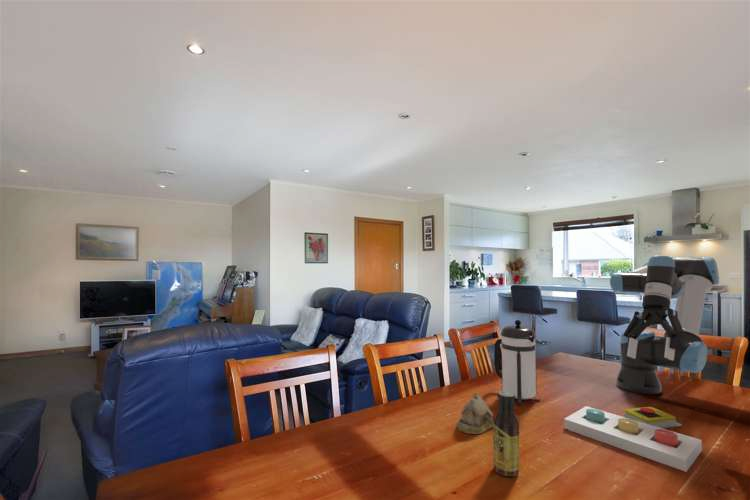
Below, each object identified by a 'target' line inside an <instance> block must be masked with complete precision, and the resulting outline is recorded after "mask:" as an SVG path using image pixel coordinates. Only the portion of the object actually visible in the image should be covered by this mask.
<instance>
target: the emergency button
mask: <svg viewBox="0 0 750 500" xmlns="http://www.w3.org/2000/svg"><path fill="white" fill-rule="evenodd" d="M623 417H625V418H629V419H632V420H635V421H639V422H642V423H646V424H649V425H652V426H656V427H659V428H662V429H667V428H674V427H681V426H683V424H682V423H679V422H677V419H676V416H675V415H672V414H669V413H668V412H664V411H662V410H660V409H658V408H656V407H652V406H644V407H636V408H635V407H634V408H633V407H632V408H625V409H624V414H623Z"/></svg>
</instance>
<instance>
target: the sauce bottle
mask: <svg viewBox="0 0 750 500" xmlns="http://www.w3.org/2000/svg"><path fill="white" fill-rule="evenodd" d="M497 399H498V410H497V413H496V415H495V417H494V420H493V421H494V423H493V427H492V428H493V429H492V430H493V435H492V436H493V441H492V442H493V443H492V447H493V451H492V452H493V454H492V456H493V457H492V458H493V460H492V461H493V468H494V471H495V472H496V473H498V474H499V475H500V476H503V477H510V478H511V477H516V476H518V474H519V473H520V471H519V468H520V421H519V417H518V416H517V414H516V413H515V401H516V398H515V394H514V393H513V392H510V391H503V390H502V391H500V390H499V392H497Z"/></svg>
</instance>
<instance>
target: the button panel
mask: <svg viewBox="0 0 750 500" xmlns="http://www.w3.org/2000/svg"><path fill="white" fill-rule="evenodd" d="M587 409H597V408H593V407H591V406H588V405H585V406H583V407H582V408H581V409H579V410H577V411H575V412H573V413H571V414H570V415H568V416H566V417H564V418H563V428H564V430H567V429H568V431H570V432H574V433H577V434H578V435H579V434H580V435H582V436H584V437H588V438H590V439H593V440H595V441H598V442H601V443H605V444H608V445H610V446H613V447H616V448H619V449H621V450H624V451H626V452H630V453H632V454H635V455H638V456H640V457H644V458H646V459H649V460H651V461H654V462H657V463H660V464H663V465H665V466H668V467H672V468H675V469H676V470H680V471H683V472H686V473H687V472H688V470H689V469H690V468H691V467H692V465H693V464H694V463H695V461H696V459H697V458H698V457H699V456H700V454H701V453H702V451H703V444H702V443H703V442H702V439H699V438H697V437H692V436H689V435H685V434H683V433H678V432H676V431H673V430H669V429H667V428H659V427H656V426H652V425H649V424H646V423H642V422H639V421H636V422H637V423H638V424H639V434H638V435H637V436H636V435H633V434H630V433H627V432H624V431H621V430H618V419H620V418H625V417H624V416H622V415H618V414H614V413H611V412H608V411H604V410H601V409H597V410H600V411H602V412H604V413H605V423H603V424H599V423H596V422H593V421H590V420H587V419H586V410H587ZM626 419H629V418H626ZM631 420H632V419H631ZM634 421H635V420H634ZM656 429H663V430H668V431H671V432H673V433H675V434H677V437H678V447H677V448H673V447H670V446H667V445H664V444H661V443H658V442H655V432H654V431H655V430H656Z"/></svg>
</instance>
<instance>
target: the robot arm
mask: <svg viewBox="0 0 750 500" xmlns="http://www.w3.org/2000/svg"><path fill="white" fill-rule="evenodd" d="M719 283H720V277H719V269H718V265H717V261H716V260H715V258H714V257H711V256H710V257H709V256H707V257H706V256H700V257H699V256H697V257H694V256H691V257H690V256H689V257H687V256H686V257H685V256H684V257H683V256H676V257H675V256H674V257H673V256H672V257H671V256H667V255H662V254H660V255H659V254H658V255H653V256H651V257H649V259H648V261H647V262H646V263H645V264H643V265H642V267H639V268H637V269H633V270H631V271H628V272H614V273H612V274H611V275H610V277H609V285H610V289H611V290H612V291H614V292H619V293H637V294H640V293H641V294H643V297H642V305H641V306H642V308H643V311H642V312H639V311H637V310H636V311H634V314H633V317H632V319H631V321H630V323H628V325H627V327H626V329H625V331H624V332H622V333H621V334H620V342H619V344H620V347H619V348H620V368H619V371H618V374H617V377H616V380H615V381H616V386H617V387H619V388H621V389H623V390H625V391H627V392H632V393H637V394H641V395H642V394H643V395H658V394H659V395H660V394H661V393H662V389H663V388H662V384H661V381H660V379H659V378H660V377H659V376H658V374H657V371H656V369H657V367H660V368H666V369H671V370H677V371H682V372H685V373H688V372H689V373H695V374H696V373H697V374H698V373H699V372H701V371H703V369H704V367H705V365H706V364H707V363H706V362H707V359H708V356H707V355H708V346H707V344H706V343H705V342H704V340H703V339H702V337H701V336H699V335H700V328H701V324H702V319H703V318H702V317H703V313H704V307H705V302H706V296H707V293H708V292H709V291H711V290H712V288H713V286H717V285H719ZM675 298H676V303H675V308H674V309H673V308H670V307H671V299H675ZM667 317H668V318H667ZM667 319H668V320H667ZM651 325H653V326H654V325H658V326H659V325H660V326H661V327H662V328H663V330H664V331H665V332H664V335H663V336H659V335H656V333H655V332H654V331H651V330H646V329H647V328H648V327H650V326H651Z"/></svg>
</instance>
